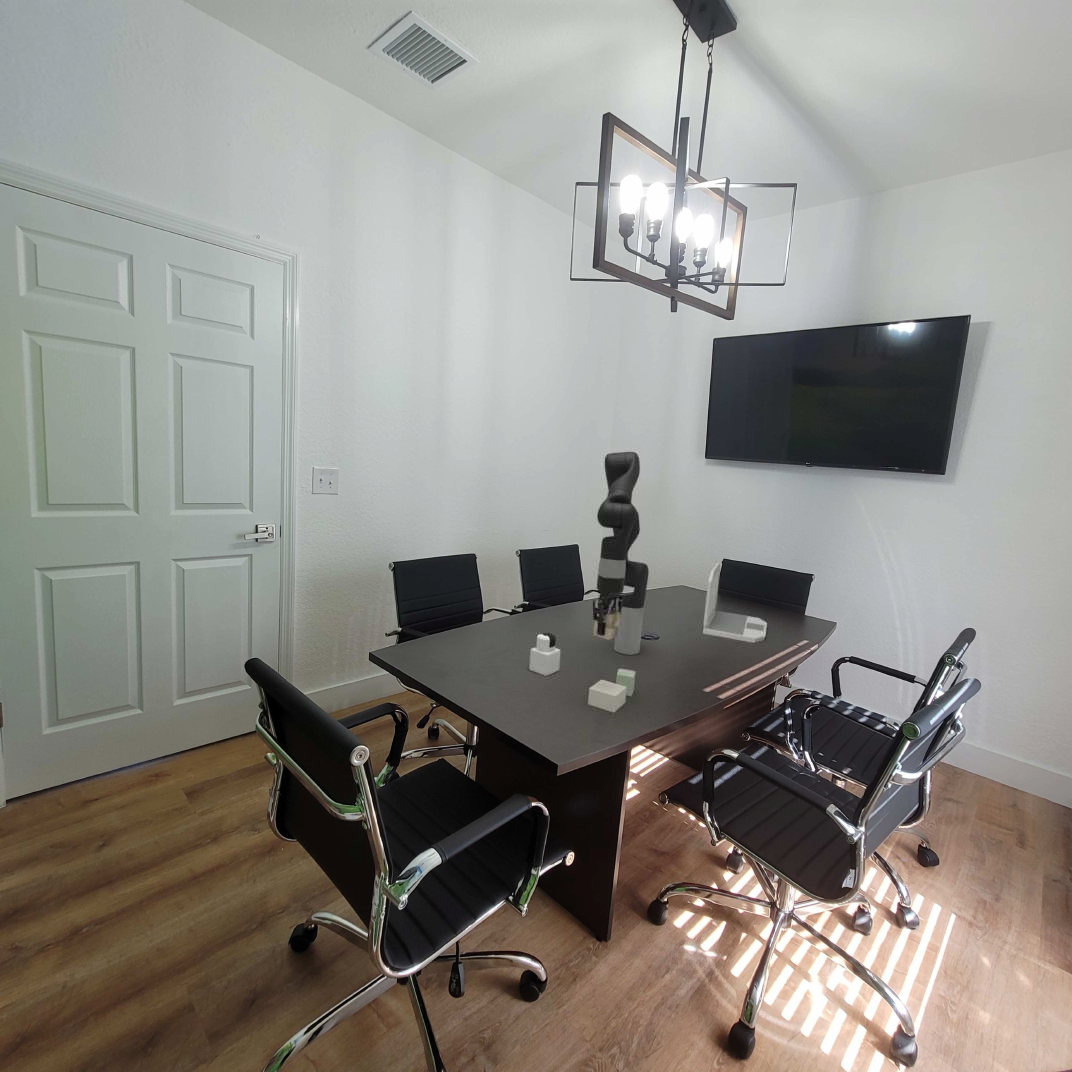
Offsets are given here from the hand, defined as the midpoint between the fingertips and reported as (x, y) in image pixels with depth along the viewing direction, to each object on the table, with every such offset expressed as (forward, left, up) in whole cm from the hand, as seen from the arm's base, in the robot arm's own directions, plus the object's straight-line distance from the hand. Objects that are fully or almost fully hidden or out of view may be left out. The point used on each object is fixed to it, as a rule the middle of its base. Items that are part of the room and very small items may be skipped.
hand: (605, 632), depth 155 cm
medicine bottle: (-7, -25, -21) cm, 33 cm away
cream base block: (0, +2, -21) cm, 21 cm away
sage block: (-11, +2, -20) cm, 23 cm away
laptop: (-106, +8, -21) cm, 108 cm away
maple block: (0, 0, -1) cm, 1 cm away
